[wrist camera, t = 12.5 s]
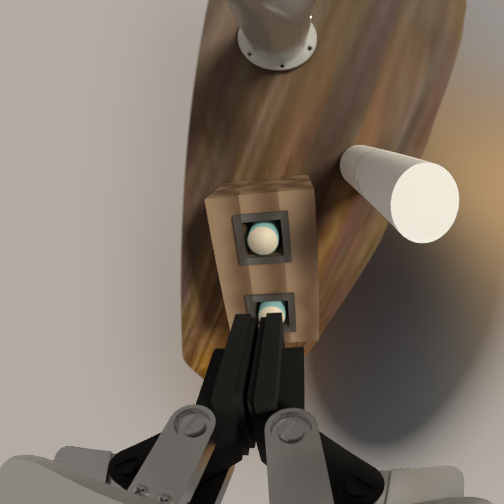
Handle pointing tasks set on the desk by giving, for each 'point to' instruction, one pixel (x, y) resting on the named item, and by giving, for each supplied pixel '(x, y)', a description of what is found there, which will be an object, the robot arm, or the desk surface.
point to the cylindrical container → (403, 190)
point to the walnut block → (276, 263)
